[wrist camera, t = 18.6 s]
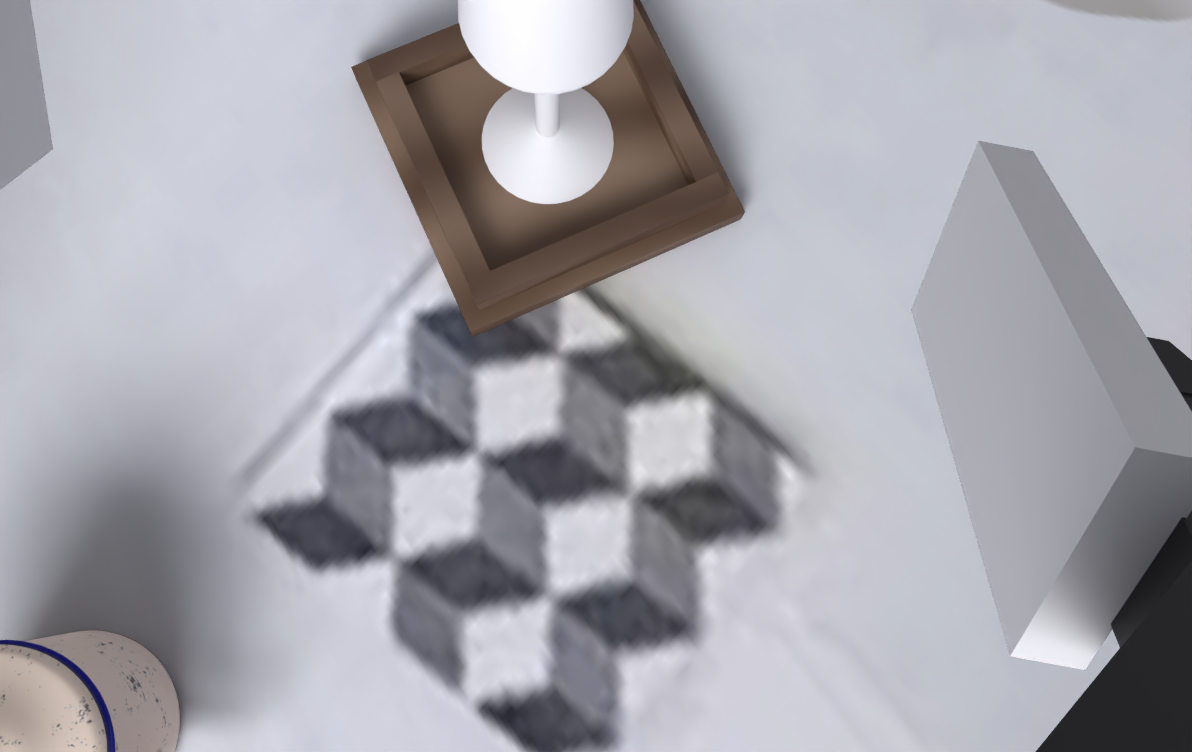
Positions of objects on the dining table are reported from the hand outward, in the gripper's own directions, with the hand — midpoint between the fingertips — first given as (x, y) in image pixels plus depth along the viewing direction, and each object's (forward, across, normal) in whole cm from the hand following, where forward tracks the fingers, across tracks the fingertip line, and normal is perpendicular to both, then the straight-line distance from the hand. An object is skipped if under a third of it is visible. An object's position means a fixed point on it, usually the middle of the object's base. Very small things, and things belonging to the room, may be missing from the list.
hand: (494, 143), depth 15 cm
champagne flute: (+36, -2, -16) cm, 39 cm away
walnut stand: (+37, -2, -16) cm, 40 cm away
